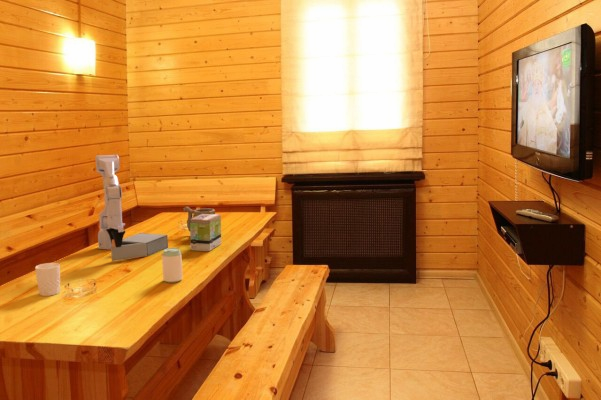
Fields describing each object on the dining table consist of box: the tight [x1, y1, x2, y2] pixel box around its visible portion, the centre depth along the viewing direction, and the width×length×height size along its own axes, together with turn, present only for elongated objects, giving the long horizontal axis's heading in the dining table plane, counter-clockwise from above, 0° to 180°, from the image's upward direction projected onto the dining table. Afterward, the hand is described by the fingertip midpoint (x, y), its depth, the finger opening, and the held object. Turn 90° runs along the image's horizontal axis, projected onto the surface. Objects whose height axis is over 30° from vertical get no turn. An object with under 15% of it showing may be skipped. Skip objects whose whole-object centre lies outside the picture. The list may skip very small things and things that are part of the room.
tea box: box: [189, 213, 222, 252], centre depth 261 cm, size 15×10×15 cm
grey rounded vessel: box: [182, 206, 216, 232], centre depth 283 cm, size 20×13×15 cm, turn 58°
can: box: [161, 247, 183, 284], centre depth 210 cm, size 7×7×12 cm
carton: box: [121, 232, 169, 257], centre depth 257 cm, size 15×16×6 cm
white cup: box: [34, 262, 61, 297], centre depth 197 cm, size 8×8×10 cm
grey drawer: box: [110, 239, 148, 262], centre depth 242 cm, size 15×3×9 cm, turn 122°
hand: (116, 245), depth 238 cm, fingers open, 4 cm apart
